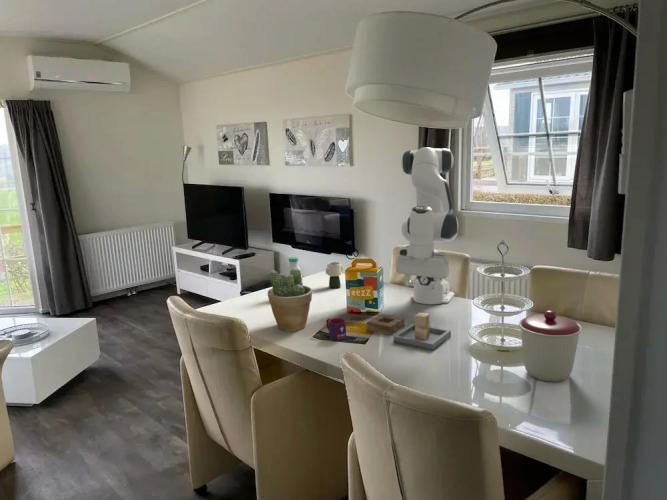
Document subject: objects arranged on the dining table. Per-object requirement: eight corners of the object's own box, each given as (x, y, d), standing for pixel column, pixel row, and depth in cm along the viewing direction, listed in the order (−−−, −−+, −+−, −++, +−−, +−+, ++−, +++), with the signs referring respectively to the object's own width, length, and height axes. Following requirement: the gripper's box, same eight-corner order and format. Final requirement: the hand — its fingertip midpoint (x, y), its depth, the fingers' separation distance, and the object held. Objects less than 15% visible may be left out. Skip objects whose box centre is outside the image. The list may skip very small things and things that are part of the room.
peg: (419, 335, 201) (419, 312, 199) (429, 336, 199) (429, 314, 197) (415, 338, 198) (415, 315, 196) (424, 340, 195) (424, 317, 194)
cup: (334, 341, 200) (334, 324, 198) (321, 334, 208) (321, 317, 207) (349, 337, 203) (349, 321, 202) (336, 330, 212) (335, 314, 210)
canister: (531, 358, 178) (533, 298, 174) (587, 373, 165) (591, 309, 161) (507, 376, 165) (509, 312, 161) (566, 393, 153) (569, 324, 148)
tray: (412, 329, 209) (412, 323, 209) (450, 336, 200) (450, 330, 200) (393, 342, 197) (393, 336, 196) (432, 350, 187) (432, 344, 187)
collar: (380, 322, 219) (380, 314, 219) (404, 326, 213) (404, 318, 212) (366, 330, 211) (366, 321, 210) (391, 335, 204) (391, 326, 203)
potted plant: (294, 316, 231) (291, 261, 226) (323, 325, 218) (321, 267, 213) (261, 327, 219) (257, 269, 214) (289, 338, 205) (286, 276, 201)
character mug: (338, 284, 281) (337, 260, 279) (347, 286, 276) (346, 262, 273) (322, 288, 275) (321, 263, 272) (330, 290, 269) (329, 266, 267)
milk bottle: (304, 298, 257) (302, 258, 253) (288, 300, 256) (286, 260, 252) (302, 294, 265) (300, 255, 261) (286, 295, 263) (284, 257, 259)
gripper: (452, 251, 188) (452, 288, 191) (401, 247, 200) (402, 282, 203) (445, 255, 183) (445, 293, 186) (393, 250, 195) (394, 286, 198)
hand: (422, 287), depth 194 cm, fingers open, 8 cm apart
